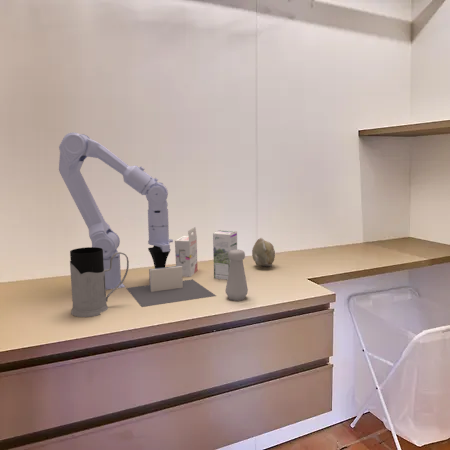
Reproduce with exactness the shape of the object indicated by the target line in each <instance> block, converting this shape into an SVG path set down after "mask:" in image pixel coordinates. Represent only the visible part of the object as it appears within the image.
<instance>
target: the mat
mask: <svg viewBox="0 0 450 450" xmlns="http://www.w3.org/2000/svg"><path fill="white" fill-rule="evenodd" d="M125 288H126V290H127V291H128V292H129V293H130V295H131V296H132V297H133V298H134V300H135V301H136V302H137V303H138V304H139V306H140V307H141V308H143V307H144V308H145V307H151V306H157V305H158V306H159V305H165V304H166V305H167V304H171V303H179V302H184V301H185V302H186V301H192V300H199V299H205V298H212V297H217V295H216V294H214V293H213V292H212V291H210V290H208V289H207V288H206V287H205V286H203V285H202V284H200V283H199V282H197V281H196V280H194V279H193V278H192V279H184V280H183V288H176V289H169V290H161V291H154V292H151V291H150V284H147V285H138V286H133V287H131V286H130V287H125Z"/></svg>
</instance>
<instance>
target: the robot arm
mask: <svg viewBox="0 0 450 450" xmlns="http://www.w3.org/2000/svg"><path fill="white" fill-rule="evenodd" d="M58 150H59V161H58V172H59V174H60V176H61V178H62V180H63V181H64V183H65V185H66V188H67V190H68V191H69V193H70V195H71V197H72V200H73V202H74V204H75V205H76V207H77V209H78V211H79V213H80V215H81V217H82V219H83V221H84V222H85V225H86V226H87V229H88V235H89V236H88V237H89V239H90V241H91V247H97V248H102V249H103V262H104V270H107V269H109V268H110V260H111V257H112V256H113V255H114V254H115V253H117V252H119V251H118V249H119V247H120V243H121V240H120V237H119V235H118V234H117V233H116V232H114V230H112V227H111V226H110V224H109V223H108V222H107V221H106V220H105V218H104V216H103V214H102V212H101V210H100V209H99V206H98V204H97V202H96V201H95V199H94V197H93V194H92V193H91V191H90V188H89V186H88V183H86V181H85V179H84V176H83V174H82V173H81V168H82V166H83V164H84V161H85V160H86V159H87V158H94V159H98V160H100V161H102V162H103V163H104V164H106V165H107V166H109V167H110V168H112V169H113V170H115V171H116V172H117V173H118V174H121V175H122V177H123V178H122V179H123V182H124V184H126V185H128V186H129V187H131V188H132V189H134V190H135V191H136V192H137V193H139V194H140V195H141V196H145V198H146V200H147V202H148V203H147V204H148V209H147V224H148V226H147V228H148V241H147V245H151V246H152V247H148V248H147V249H148V252H149V254H150V256H151V258H152V262H153V266H154V269H155V268H164V267H166V265H167V260H168V257H169V254H170V253H171V245H170V243H173V242H174V239H172V238H170V235H169V234H170V232H169V209H168V205H169V204H168V200H167V199H168V194H169V191H168V187H166V186H165V185H164V183H163V182H158V181H159V179H158V178H157V177H155V178H154V177H153V176H151V175H150V174H149V173H147V172H146V171H144V170H145V168H144V167H143V166H138V165H128V164H127V162H125V161H123V159H121V158H120V157H119V156H117V155H116V154H115V153H114V152H112V151H111V150H109V149H108V148H107V147H106V146H105V145H103V144H101V143H100V142H99V141H97V140H94V139H93V138H90V136H88V135H87V134H85V133H78V132H74V131H71V132H68V133H66V134H65V135H64V137H63V138H62V140H61V142H60V144H59V146H58ZM121 270H122V269H121V254H117V255H115V256H114V258H113V260H112V268H111V270H109V271H105V286H106V291H107V290H113V289H114V288H115V287H116V286H117V285H118V284H119V283H120V282H121V281H122V275H121V273H122V272H121ZM122 288H126V286H125V285H124V282H123V283H122V284H121V285H120V286H119V287H118V288H117V289H122Z"/></svg>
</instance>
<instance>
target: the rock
mask: <svg viewBox="0 0 450 450" xmlns="http://www.w3.org/2000/svg"><path fill="white" fill-rule="evenodd" d="M275 253H276V251H275V248H274V245H273V244H272V243H271V242H269V241H268V240H265V239H264V238H263V237H260V238H258V239H256V241H255V243H254V245H253V247H252V251H251V254H252V259H253V261H254V264H255V265H256V266H258V267H266V268H270V267H271V268H272V267H273V266H274V265H273V263H274V261H275V257H276V254H275Z"/></svg>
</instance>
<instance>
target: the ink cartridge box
mask: <svg viewBox="0 0 450 450" xmlns="http://www.w3.org/2000/svg"><path fill="white" fill-rule="evenodd" d="M174 253H175V266H182V278H183V277H189V278H190V277H192V276H193V275H194V274H195V273H196V272H197V271H198V236H197V228H196V226H195V227H193V228H191V229H189V230H187V235H182V236H181V237H179V238H177V239H175V240H174Z"/></svg>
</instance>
